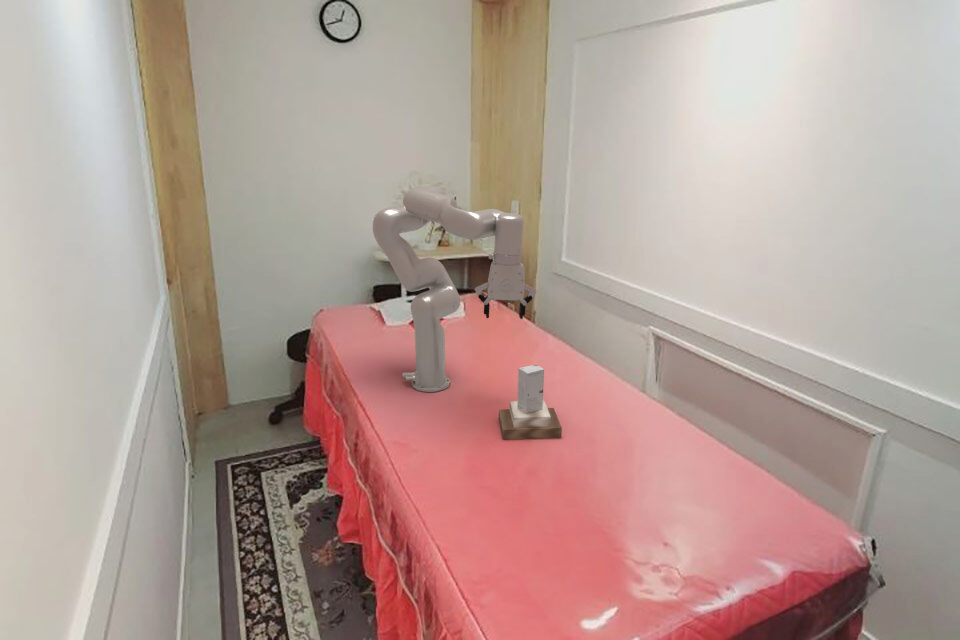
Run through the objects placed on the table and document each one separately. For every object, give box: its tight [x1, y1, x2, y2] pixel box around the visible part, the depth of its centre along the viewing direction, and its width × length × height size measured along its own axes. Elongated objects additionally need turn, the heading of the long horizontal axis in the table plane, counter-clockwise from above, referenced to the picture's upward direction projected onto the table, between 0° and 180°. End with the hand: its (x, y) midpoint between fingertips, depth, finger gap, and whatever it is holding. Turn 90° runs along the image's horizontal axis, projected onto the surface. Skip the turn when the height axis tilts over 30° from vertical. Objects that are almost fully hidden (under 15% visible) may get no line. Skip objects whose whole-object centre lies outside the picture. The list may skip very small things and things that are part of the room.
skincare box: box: [517, 364, 545, 413], centre depth 161 cm, size 6×4×12 cm
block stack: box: [498, 399, 563, 440], centre depth 164 cm, size 16×12×6 cm
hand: (504, 317), depth 167 cm, fingers open, 9 cm apart
